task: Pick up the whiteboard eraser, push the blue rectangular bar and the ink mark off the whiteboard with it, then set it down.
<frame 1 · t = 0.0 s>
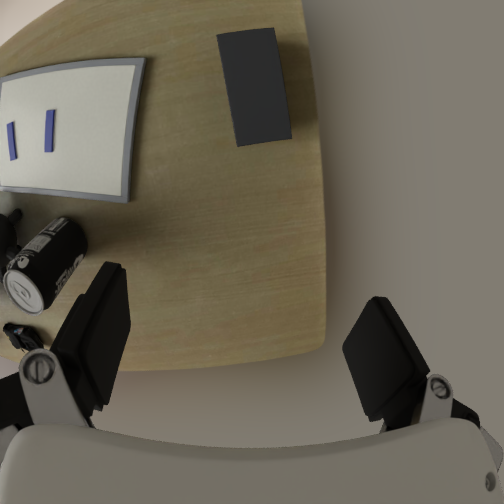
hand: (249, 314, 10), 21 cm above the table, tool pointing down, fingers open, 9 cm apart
ink mark B: (12, 141, 21), point 1 cm above the table, touching whiteboard
toy car: (25, 332, 39), on the table
toy ball: (11, 226, 28), on the table
blue rectangular bar: (49, 131, 22), point 1 cm above the table, touching whiteboard
beverage can: (70, 236, 30), on the table
whiteboard eraser: (250, 88, 23), on the table
whiteboard: (53, 129, 23), on the table
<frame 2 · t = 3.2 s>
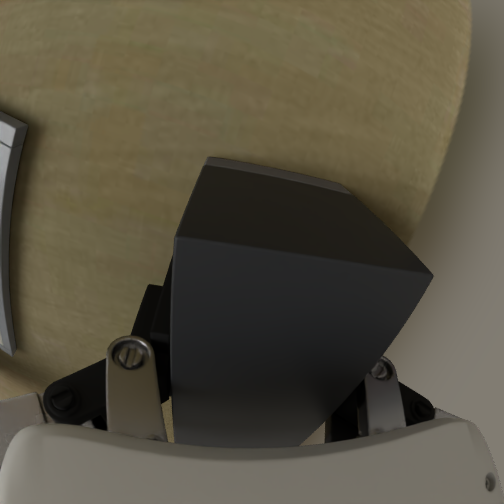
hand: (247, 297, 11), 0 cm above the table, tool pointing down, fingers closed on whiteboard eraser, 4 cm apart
whiteboard eraser: (247, 289, 11), on the table, touching gripper
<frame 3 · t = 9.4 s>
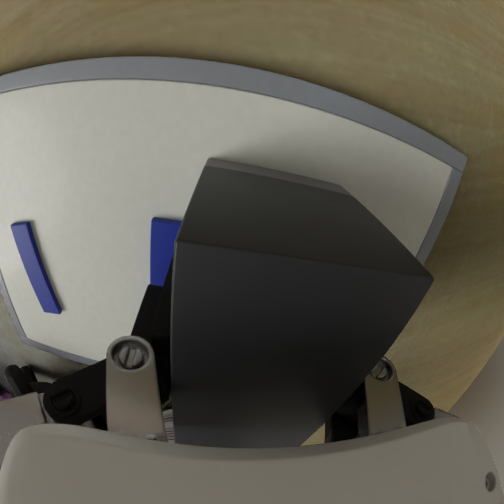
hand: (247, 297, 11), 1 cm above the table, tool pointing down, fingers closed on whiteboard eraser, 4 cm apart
ink mark B: (37, 269, 10), point 1 cm above the table, touching whiteboard
toy ball: (61, 382, 17), on the table
blue rectangular bar: (165, 276, 10), point 1 cm above the table, touching gripper, whiteboard
beverage can: (199, 413, 19), on the table
whiteboard eraser: (247, 291, 11), point 1 cm above the table, touching gripper
whiteboard: (177, 266, 11), on the table
when the fingers open (0 cm above the table, at t = 22.0 s): whiteboard eraser stays where it is, on the table.
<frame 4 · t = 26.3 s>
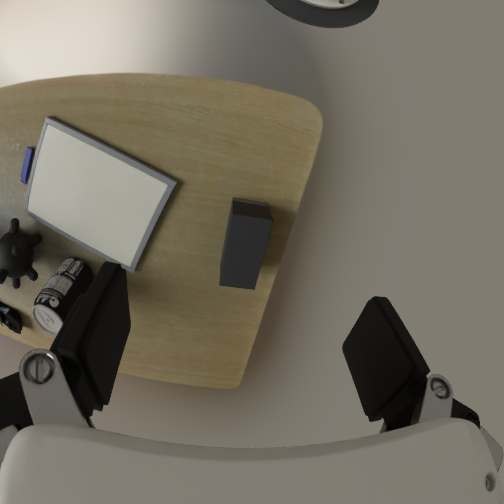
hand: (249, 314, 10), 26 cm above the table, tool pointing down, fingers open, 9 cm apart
ink mark B: (25, 168, 29), on the table, tilted 180°, touching blue rectangular bar
toy car: (7, 310, 43), on the table
toy ball: (27, 240, 35), on the table
blue rectangular bar: (27, 163, 28), on the table, touching ink mark B
beverage can: (79, 271, 39), on the table
whiteboard eraser: (242, 234, 38), on the table
whiteboard: (87, 195, 33), on the table
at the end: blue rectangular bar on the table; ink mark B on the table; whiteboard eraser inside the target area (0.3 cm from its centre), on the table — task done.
